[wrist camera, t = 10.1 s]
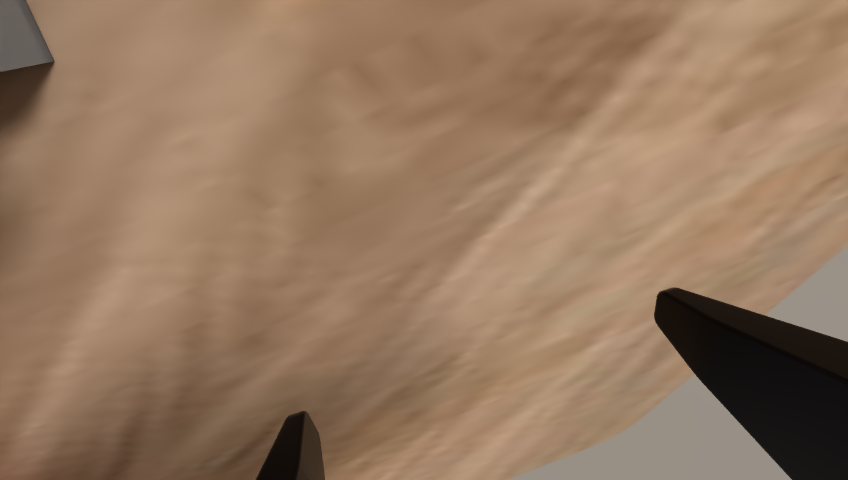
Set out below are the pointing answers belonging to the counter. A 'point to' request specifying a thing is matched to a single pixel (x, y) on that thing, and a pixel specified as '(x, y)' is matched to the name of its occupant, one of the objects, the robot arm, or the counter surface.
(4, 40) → the duct
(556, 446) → the counter surface
